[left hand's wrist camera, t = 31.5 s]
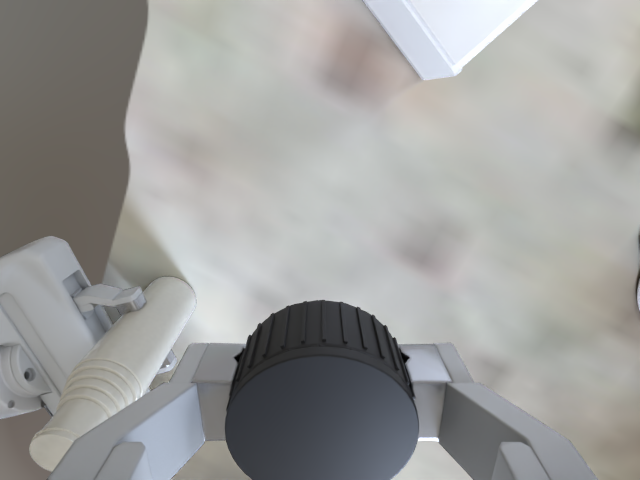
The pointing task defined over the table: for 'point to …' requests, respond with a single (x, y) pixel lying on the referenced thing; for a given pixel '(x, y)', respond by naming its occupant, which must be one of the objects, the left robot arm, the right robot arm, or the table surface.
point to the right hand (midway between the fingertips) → (156, 328)
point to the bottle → (116, 368)
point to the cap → (321, 398)
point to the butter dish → (444, 29)
